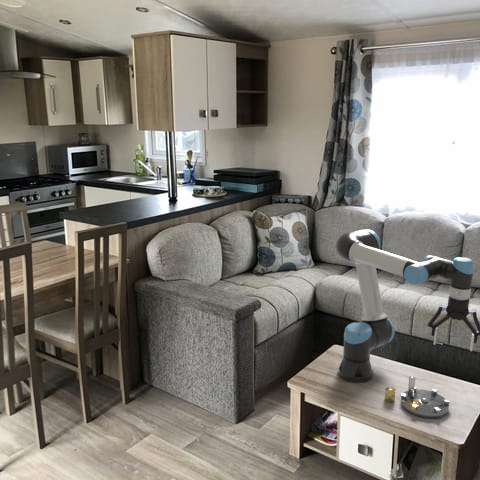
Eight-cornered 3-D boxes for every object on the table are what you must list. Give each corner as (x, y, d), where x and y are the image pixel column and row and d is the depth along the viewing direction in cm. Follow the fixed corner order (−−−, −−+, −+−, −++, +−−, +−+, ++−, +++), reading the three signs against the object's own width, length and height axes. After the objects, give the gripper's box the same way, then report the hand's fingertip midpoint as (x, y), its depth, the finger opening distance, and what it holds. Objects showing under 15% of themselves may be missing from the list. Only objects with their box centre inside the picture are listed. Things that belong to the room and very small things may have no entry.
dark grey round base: (392, 405, 203) (393, 382, 201) (414, 388, 215) (416, 367, 213) (435, 424, 190) (437, 400, 188) (456, 405, 202) (458, 383, 200)
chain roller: (382, 400, 207) (383, 389, 206) (387, 396, 210) (388, 385, 209) (391, 403, 204) (392, 392, 203) (396, 400, 207) (397, 389, 206)
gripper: (424, 295, 198) (419, 344, 203) (495, 305, 188) (487, 356, 194) (426, 289, 204) (420, 336, 210) (494, 298, 195) (486, 348, 200)
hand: (452, 346), depth 202 cm, fingers open, 13 cm apart
